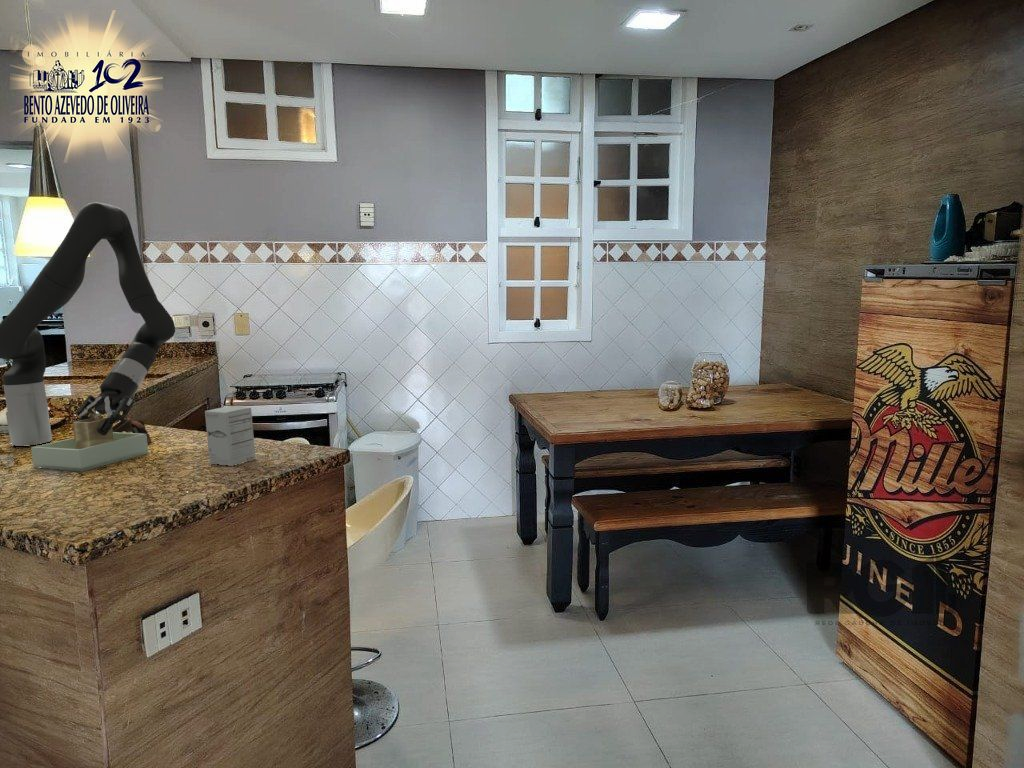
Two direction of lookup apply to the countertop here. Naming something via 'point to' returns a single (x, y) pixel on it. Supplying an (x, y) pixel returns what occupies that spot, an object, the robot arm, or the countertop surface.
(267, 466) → the countertop surface
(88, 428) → the brown cardboard box
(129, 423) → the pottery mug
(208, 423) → the supplement box
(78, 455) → the sage crate
